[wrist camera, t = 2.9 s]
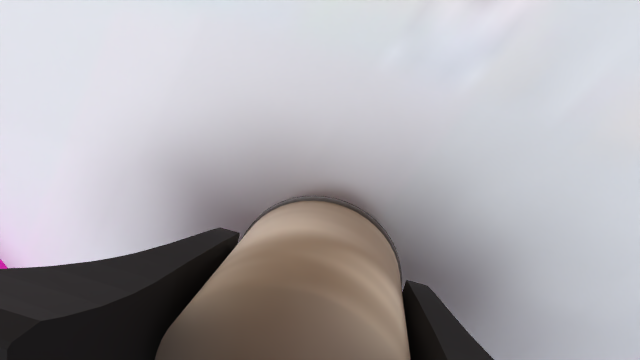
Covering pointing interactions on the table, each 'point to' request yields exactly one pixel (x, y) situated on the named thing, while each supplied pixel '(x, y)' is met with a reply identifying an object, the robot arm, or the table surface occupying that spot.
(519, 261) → the table surface
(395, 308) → the beige rounded lump
